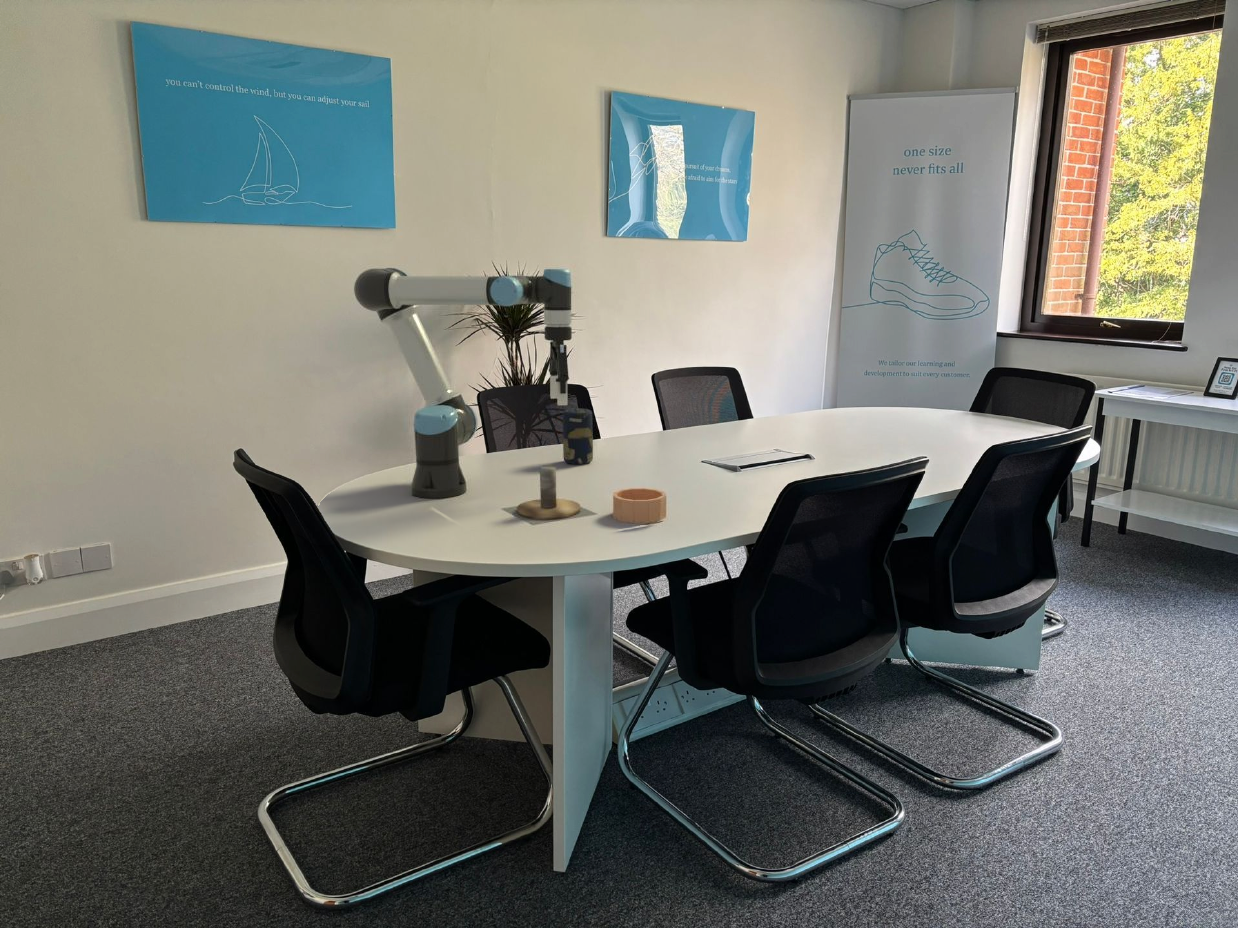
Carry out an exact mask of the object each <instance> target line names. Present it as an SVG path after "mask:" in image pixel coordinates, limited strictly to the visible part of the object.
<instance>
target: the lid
mask: <svg viewBox="0 0 1238 928" xmlns="http://www.w3.org/2000/svg"><path fill="white" fill-rule="evenodd" d="M539 484H540V485H539V486H540V487H539V488H540V499H532V500H528V501H527V500H526V501H524V502H522V503H520V504H518V505H516V506H517V514H518V515H520V516H522V517H525V518H530V519H538V520H553V519H563V518H568V517H572V516H575V515H577V514H578V513H580V507H581V504H580V503H578V502H576V501H574V500H570V499H565V498H557V467H555V466H549V465H548V466H541V467H540V468H539Z"/></svg>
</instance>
